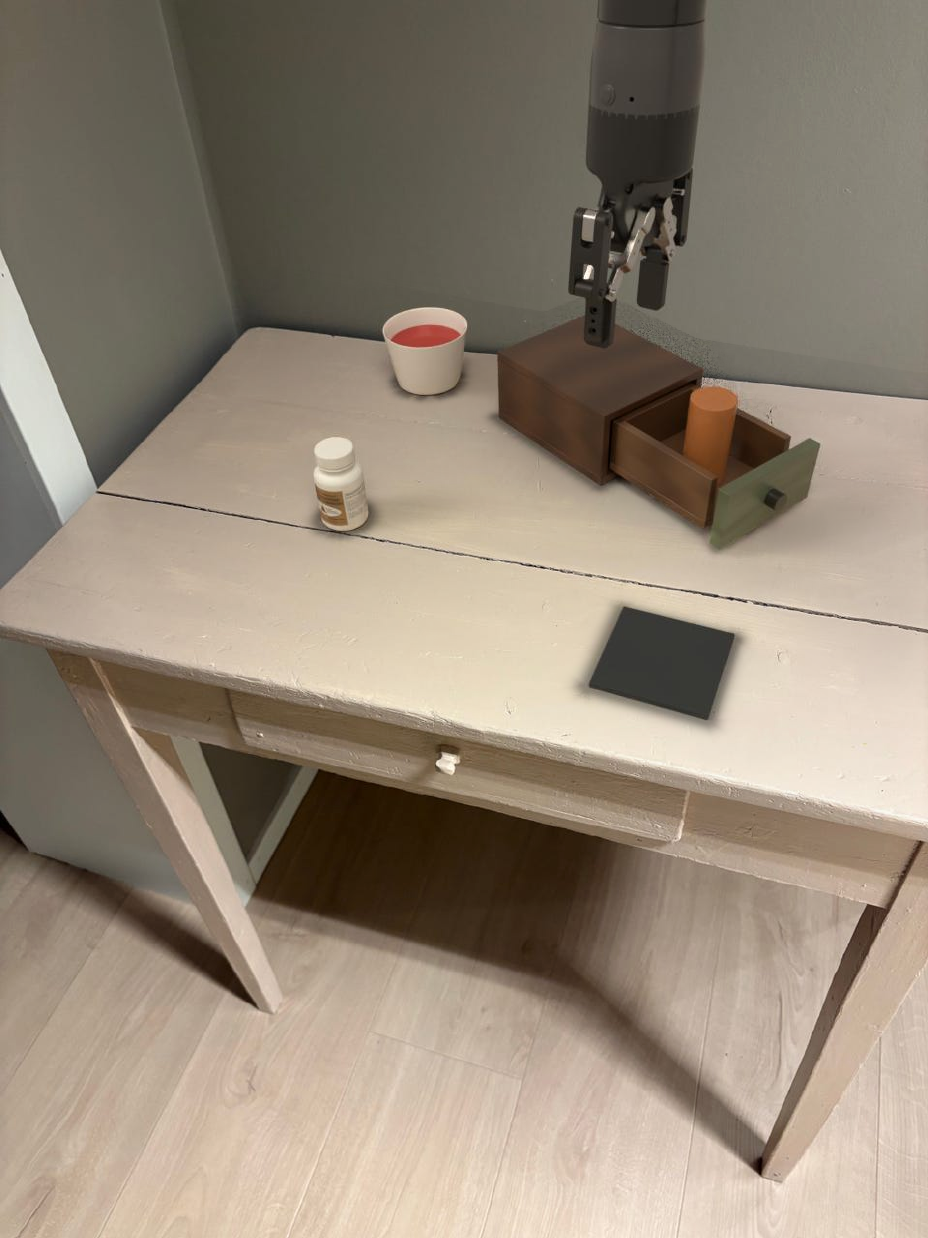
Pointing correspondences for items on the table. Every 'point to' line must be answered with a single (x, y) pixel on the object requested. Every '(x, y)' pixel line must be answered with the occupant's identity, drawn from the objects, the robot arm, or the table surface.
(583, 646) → the table surface
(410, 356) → the candle
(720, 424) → the spice tin
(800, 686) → the table surface
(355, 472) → the pill bottle
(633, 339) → the cabinet
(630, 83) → the robot arm
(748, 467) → the drawer
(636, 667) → the mat
